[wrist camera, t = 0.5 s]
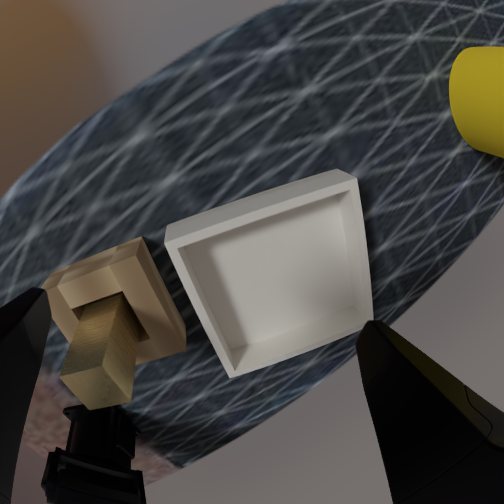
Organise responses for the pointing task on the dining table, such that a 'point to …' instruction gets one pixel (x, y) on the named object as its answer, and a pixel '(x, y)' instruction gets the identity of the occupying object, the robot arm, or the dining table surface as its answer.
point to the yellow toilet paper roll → (479, 98)
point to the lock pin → (103, 353)
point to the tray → (277, 270)
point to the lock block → (115, 280)
